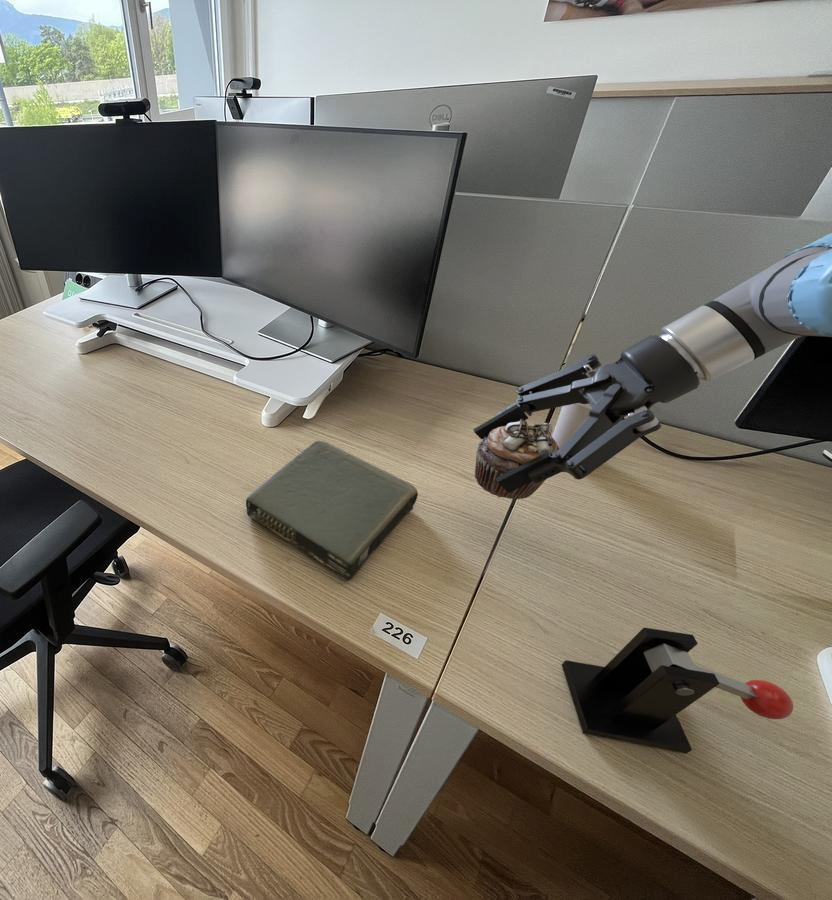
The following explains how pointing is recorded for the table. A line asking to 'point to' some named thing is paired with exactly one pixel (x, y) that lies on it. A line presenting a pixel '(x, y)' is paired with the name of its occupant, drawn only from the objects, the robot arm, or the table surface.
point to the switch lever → (729, 683)
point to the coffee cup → (570, 421)
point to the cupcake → (511, 455)
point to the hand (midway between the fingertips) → (489, 459)
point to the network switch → (332, 506)
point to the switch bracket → (638, 693)
